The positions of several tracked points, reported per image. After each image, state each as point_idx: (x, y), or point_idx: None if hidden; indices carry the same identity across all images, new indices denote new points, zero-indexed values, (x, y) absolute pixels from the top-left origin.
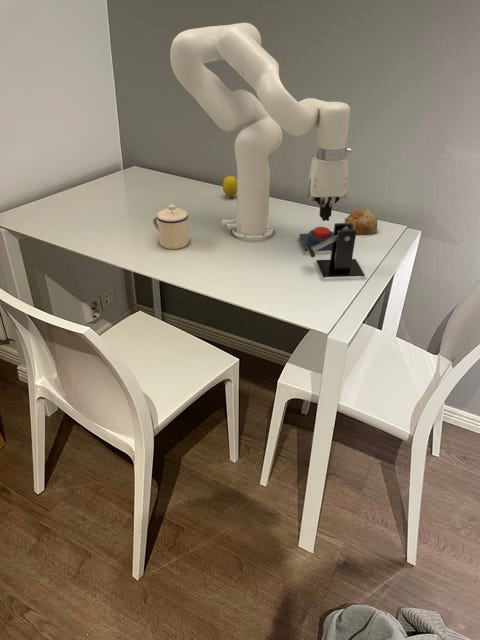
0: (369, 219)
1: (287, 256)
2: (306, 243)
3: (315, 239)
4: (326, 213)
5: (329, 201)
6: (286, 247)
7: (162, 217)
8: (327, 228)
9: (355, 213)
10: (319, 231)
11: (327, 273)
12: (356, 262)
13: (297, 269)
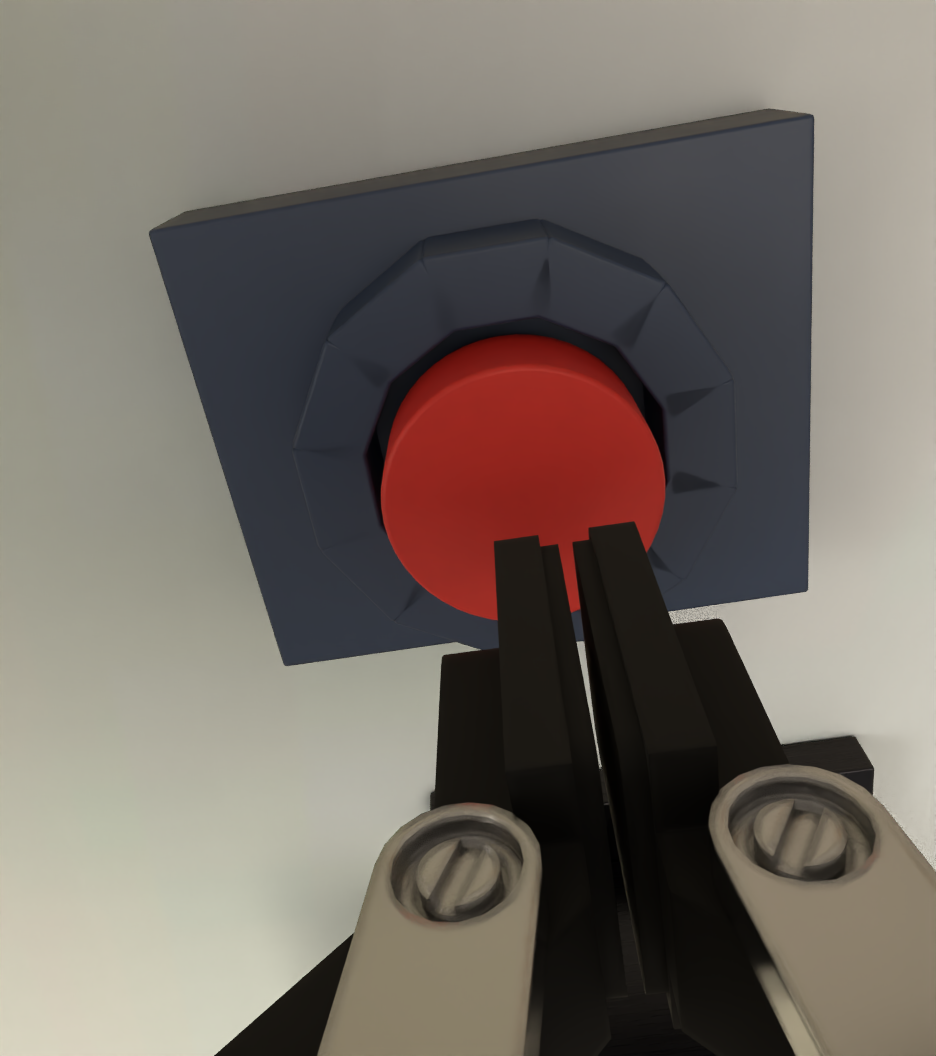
0: None
1: (103, 676)
2: (292, 571)
3: (410, 621)
4: (613, 813)
5: (778, 1026)
6: (39, 460)
7: None
8: (631, 441)
9: None
10: (469, 574)
11: None
12: None
13: (251, 889)
